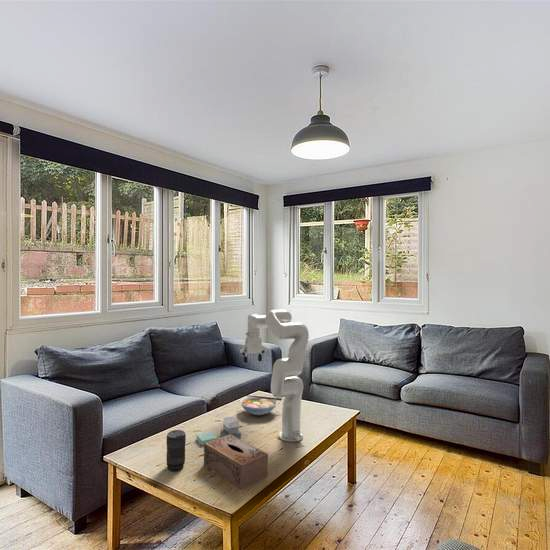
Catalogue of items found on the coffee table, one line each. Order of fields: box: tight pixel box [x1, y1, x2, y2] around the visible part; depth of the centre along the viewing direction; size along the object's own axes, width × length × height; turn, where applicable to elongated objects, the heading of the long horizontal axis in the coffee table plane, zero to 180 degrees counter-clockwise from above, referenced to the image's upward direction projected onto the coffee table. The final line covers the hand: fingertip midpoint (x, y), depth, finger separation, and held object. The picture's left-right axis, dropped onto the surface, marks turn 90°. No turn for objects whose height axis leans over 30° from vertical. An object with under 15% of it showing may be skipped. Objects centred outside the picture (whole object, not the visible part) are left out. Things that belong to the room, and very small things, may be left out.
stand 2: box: [220, 429, 242, 439], centre depth 201 cm, size 8×8×2 cm
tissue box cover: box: [203, 434, 269, 490], centre depth 167 cm, size 26×14×10 cm, turn 45°
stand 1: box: [196, 431, 218, 447], centre depth 195 cm, size 8×8×2 cm
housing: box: [222, 416, 240, 435], centre depth 201 cm, size 7×6×6 cm
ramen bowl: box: [239, 394, 283, 416], centre depth 234 cm, size 25×23×8 cm
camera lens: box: [166, 429, 187, 472], centre depth 168 cm, size 8×8×15 cm
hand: (252, 361), depth 239 cm, fingers open, 9 cm apart
